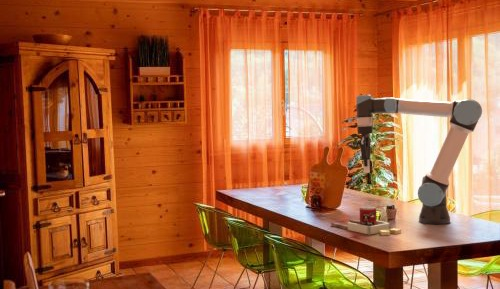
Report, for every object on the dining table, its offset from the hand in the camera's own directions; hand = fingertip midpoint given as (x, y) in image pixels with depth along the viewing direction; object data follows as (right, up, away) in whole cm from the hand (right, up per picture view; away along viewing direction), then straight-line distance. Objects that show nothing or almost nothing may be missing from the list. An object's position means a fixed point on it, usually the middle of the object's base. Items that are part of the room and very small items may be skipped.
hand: (366, 172), depth 304 cm
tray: (-2, -27, -15) cm, 31 cm away
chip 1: (+3, -28, -25) cm, 38 cm away
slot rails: (-9, -26, -4) cm, 28 cm away
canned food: (-2, -27, -14) cm, 31 cm away
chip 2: (+9, -27, -23) cm, 37 cm away
